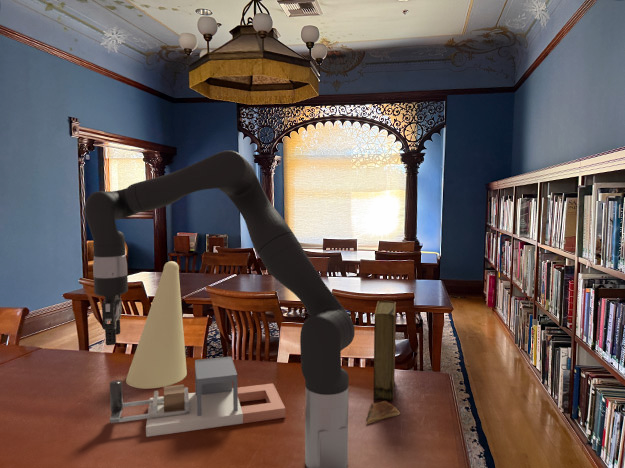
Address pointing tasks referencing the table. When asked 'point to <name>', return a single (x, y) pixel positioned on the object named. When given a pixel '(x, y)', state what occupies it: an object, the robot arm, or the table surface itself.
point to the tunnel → (215, 379)
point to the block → (174, 398)
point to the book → (384, 350)
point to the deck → (219, 411)
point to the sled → (118, 404)
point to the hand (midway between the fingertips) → (113, 339)
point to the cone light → (161, 337)
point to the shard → (381, 411)
